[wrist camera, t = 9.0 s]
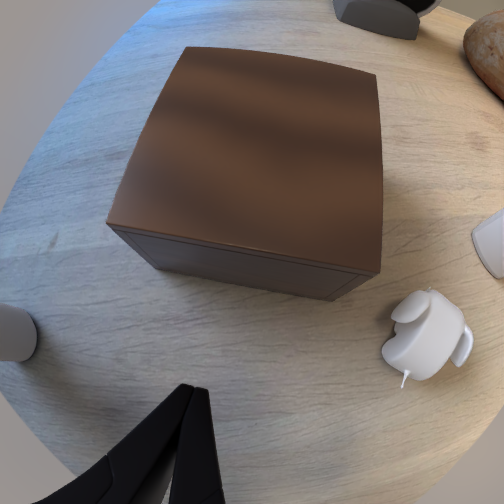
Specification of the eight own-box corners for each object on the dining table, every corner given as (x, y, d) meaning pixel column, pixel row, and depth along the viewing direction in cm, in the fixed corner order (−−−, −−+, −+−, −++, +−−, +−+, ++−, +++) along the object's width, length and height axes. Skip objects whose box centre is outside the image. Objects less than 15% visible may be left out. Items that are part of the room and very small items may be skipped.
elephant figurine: (453, 317, 22) (497, 306, 16) (409, 402, 20) (451, 413, 15) (396, 273, 23) (434, 252, 18) (345, 361, 21) (376, 365, 16)
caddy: (198, 126, 27) (184, 58, 19) (345, 150, 27) (373, 87, 19) (154, 268, 23) (111, 229, 15) (332, 301, 23) (374, 277, 15)
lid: (187, 54, 19) (185, 46, 19) (372, 82, 19) (376, 74, 18) (110, 229, 15) (104, 223, 14) (374, 277, 15) (380, 273, 14)
